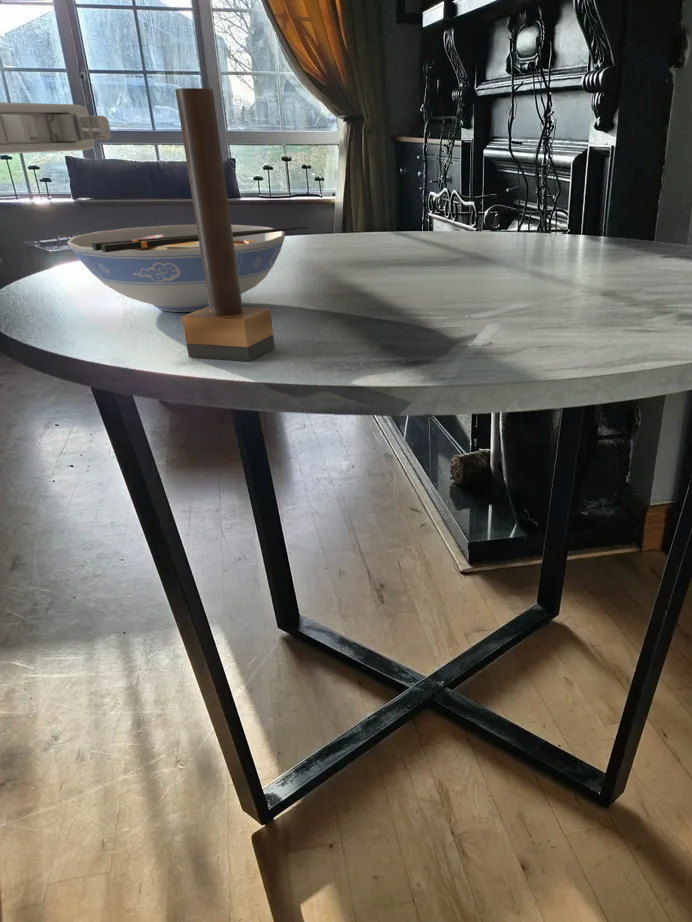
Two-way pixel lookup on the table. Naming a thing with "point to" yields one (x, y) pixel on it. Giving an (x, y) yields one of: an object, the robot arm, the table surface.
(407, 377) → the table surface
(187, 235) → the ramen bowl
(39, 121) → the robot arm
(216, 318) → the brush
